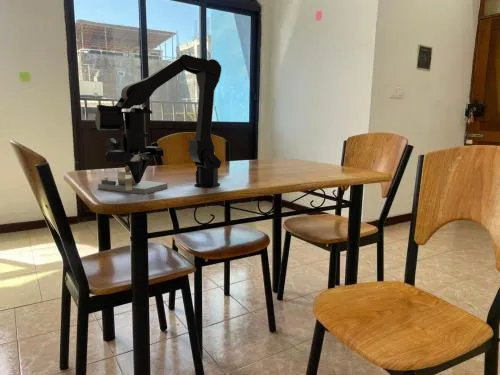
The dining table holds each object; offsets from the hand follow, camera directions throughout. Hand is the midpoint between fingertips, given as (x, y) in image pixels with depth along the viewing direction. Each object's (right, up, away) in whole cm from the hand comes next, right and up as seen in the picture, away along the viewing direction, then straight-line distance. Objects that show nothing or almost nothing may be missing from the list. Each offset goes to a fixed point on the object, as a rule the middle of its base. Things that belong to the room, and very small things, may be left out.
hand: (137, 183), depth 113 cm
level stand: (-3, -2, +7) cm, 8 cm away
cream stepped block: (-3, -1, +2) cm, 4 cm away
